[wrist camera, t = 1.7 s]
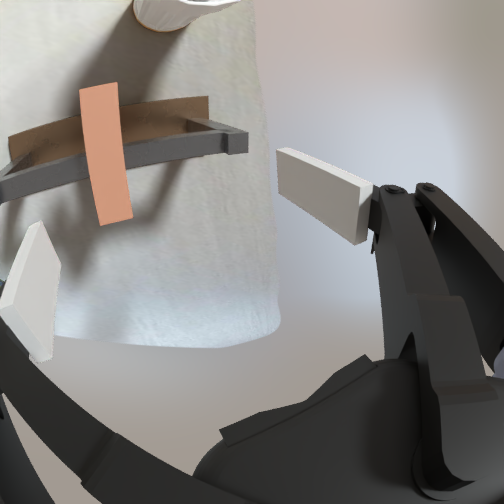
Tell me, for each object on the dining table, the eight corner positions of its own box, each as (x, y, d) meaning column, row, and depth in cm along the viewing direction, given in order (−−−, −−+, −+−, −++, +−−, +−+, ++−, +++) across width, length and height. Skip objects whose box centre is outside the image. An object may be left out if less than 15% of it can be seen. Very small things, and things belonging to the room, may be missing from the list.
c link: (101, 184, 32) (100, 225, 23) (89, 91, 25) (79, 89, 16) (124, 179, 33) (133, 217, 24) (115, 86, 27) (117, 81, 18)
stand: (21, 190, 31) (-15, 244, 19) (10, 135, 26) (-39, 164, 14) (207, 149, 41) (257, 180, 29) (205, 95, 37) (258, 101, 25)
